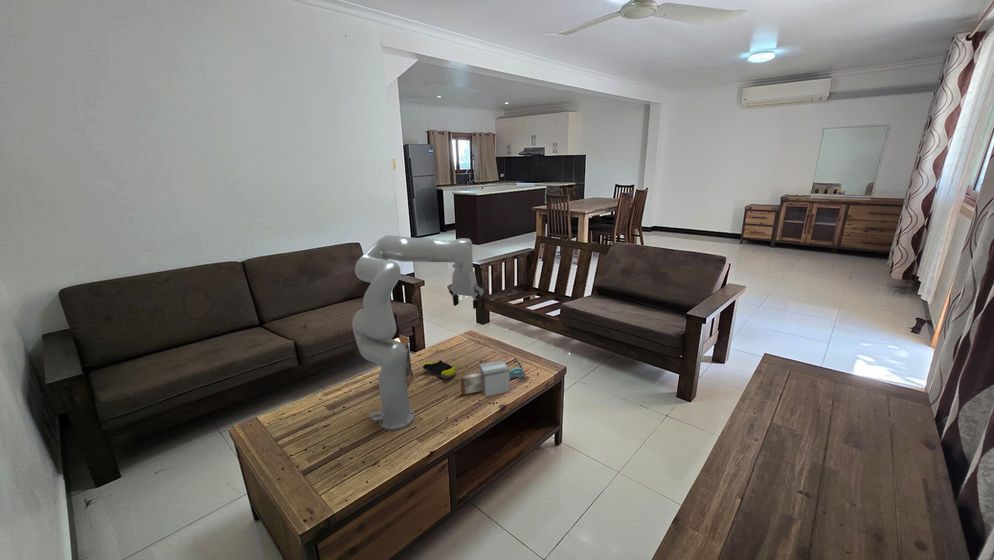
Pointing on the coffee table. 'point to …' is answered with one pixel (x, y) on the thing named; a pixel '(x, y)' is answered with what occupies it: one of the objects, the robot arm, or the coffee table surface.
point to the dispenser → (495, 378)
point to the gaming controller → (440, 369)
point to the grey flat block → (472, 383)
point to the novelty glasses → (516, 370)
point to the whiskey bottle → (405, 341)
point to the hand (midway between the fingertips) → (465, 306)
